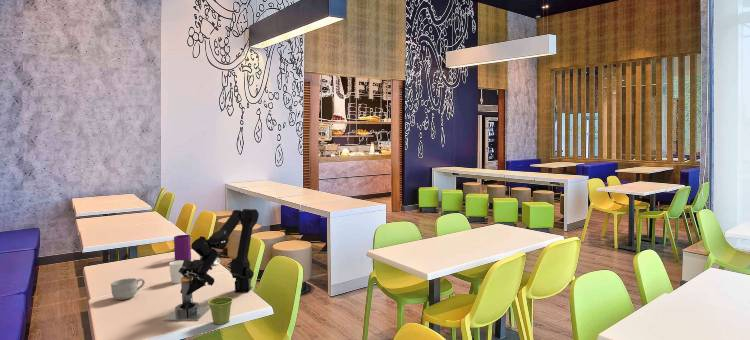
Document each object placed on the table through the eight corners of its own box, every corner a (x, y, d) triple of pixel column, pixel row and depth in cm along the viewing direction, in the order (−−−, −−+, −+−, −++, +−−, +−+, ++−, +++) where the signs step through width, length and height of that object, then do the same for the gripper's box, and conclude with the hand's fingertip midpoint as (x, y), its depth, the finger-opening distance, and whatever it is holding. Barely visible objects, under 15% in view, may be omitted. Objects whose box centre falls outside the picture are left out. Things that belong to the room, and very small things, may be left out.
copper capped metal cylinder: (195, 306, 199) (193, 276, 198) (190, 310, 195) (189, 279, 194) (184, 306, 199) (183, 276, 198) (180, 310, 195) (178, 279, 194)
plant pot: (206, 320, 190) (205, 299, 190) (230, 315, 195) (229, 295, 194) (211, 328, 182) (210, 306, 181) (236, 323, 187) (235, 301, 186)
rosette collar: (210, 307, 204) (210, 300, 203) (197, 320, 190) (197, 312, 189) (178, 307, 204) (178, 300, 204) (163, 320, 190) (162, 312, 190)
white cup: (180, 284, 237) (179, 264, 236) (166, 283, 239) (165, 264, 238) (189, 279, 245) (189, 260, 244) (176, 278, 246) (175, 260, 246)
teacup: (111, 303, 211) (110, 285, 211) (112, 296, 221) (111, 279, 220) (145, 298, 218) (144, 281, 217) (145, 291, 227) (144, 275, 227)
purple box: (176, 264, 275) (175, 238, 274) (171, 258, 288) (170, 234, 287) (193, 261, 280) (192, 236, 279) (186, 256, 293) (185, 232, 292)
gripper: (181, 248, 204) (158, 280, 196) (206, 254, 193) (183, 288, 185) (198, 262, 211) (176, 293, 203) (224, 268, 199) (202, 302, 192)
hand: (184, 294), depth 195 cm, fingers closed on copper capped metal cylinder, 4 cm apart
